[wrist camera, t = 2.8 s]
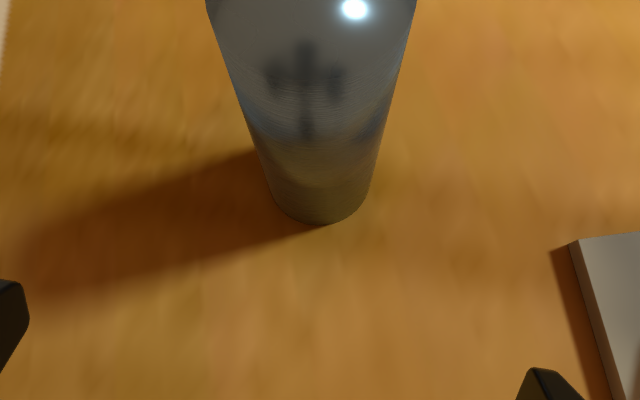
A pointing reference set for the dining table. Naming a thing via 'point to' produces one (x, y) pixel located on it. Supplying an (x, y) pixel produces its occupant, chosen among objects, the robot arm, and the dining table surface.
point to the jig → (613, 305)
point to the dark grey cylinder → (314, 92)
